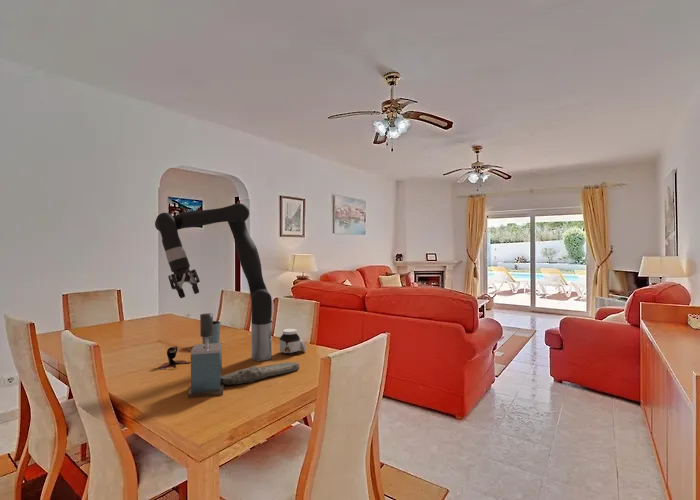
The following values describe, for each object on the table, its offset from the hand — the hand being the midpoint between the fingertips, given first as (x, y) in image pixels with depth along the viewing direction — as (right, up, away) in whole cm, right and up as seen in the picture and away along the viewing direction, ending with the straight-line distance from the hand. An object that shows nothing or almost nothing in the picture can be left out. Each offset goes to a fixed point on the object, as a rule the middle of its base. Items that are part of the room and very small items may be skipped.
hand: (190, 295), depth 163 cm
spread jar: (+39, -33, +33) cm, 60 cm away
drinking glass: (-8, -32, +46) cm, 57 cm away
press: (+13, -34, -16) cm, 40 cm away
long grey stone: (+31, -34, -2) cm, 46 cm away
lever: (+13, -30, -17) cm, 37 cm away
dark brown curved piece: (-12, -34, +13) cm, 38 cm away
